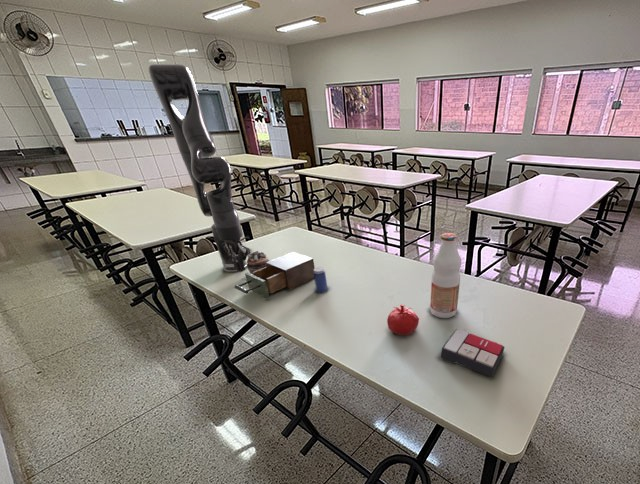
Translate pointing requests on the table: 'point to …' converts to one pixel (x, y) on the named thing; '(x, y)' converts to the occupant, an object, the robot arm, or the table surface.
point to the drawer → (264, 281)
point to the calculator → (472, 352)
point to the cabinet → (294, 268)
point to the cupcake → (256, 261)
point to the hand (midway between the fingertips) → (241, 270)
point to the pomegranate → (402, 321)
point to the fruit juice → (445, 278)
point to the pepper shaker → (320, 279)
